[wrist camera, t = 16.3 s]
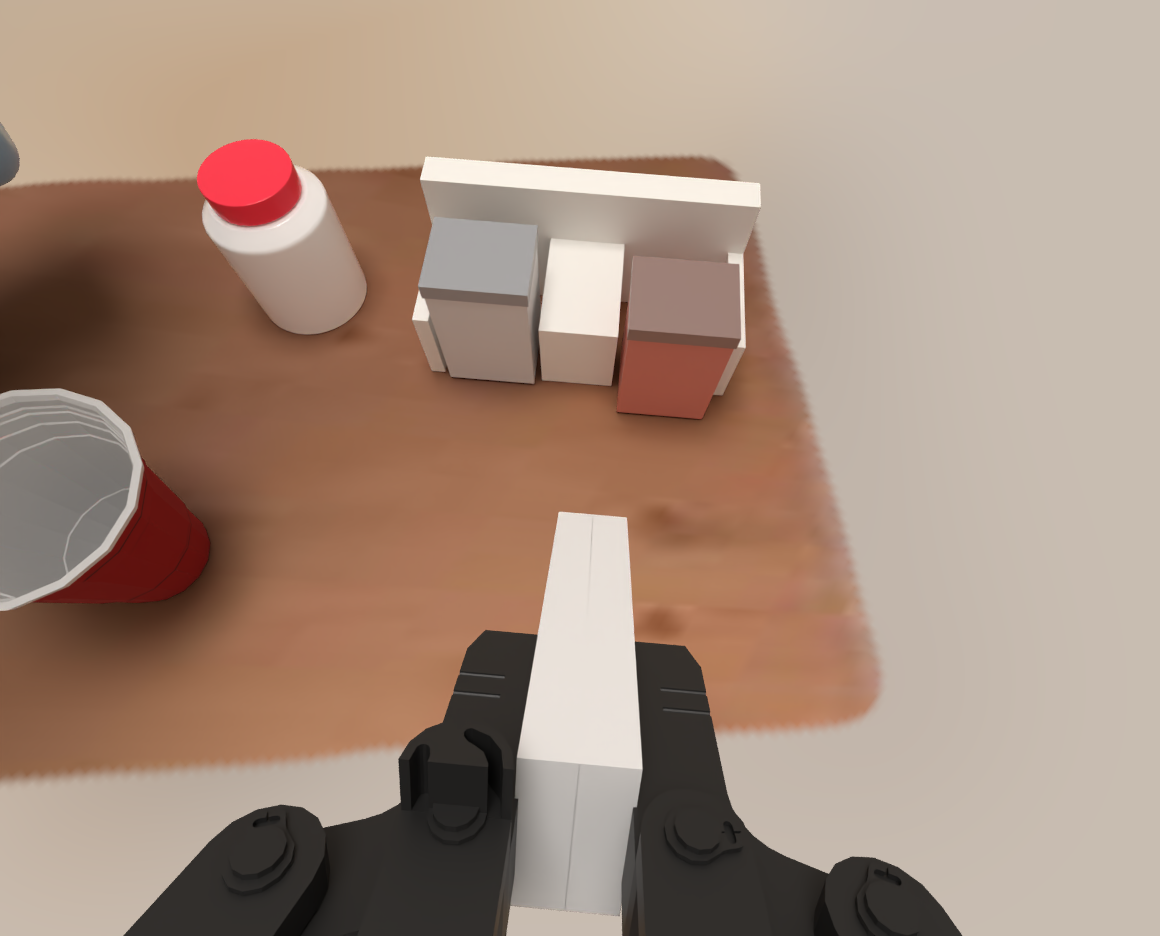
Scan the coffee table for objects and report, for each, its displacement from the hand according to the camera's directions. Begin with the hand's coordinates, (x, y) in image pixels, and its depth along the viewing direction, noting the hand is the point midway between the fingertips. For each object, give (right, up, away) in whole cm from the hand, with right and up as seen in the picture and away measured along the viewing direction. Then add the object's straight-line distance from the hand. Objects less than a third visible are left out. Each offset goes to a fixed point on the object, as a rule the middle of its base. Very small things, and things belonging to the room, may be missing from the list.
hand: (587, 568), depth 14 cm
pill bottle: (-20, +16, +32) cm, 41 cm away
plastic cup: (-26, -3, +24) cm, 36 cm away
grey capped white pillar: (-6, +11, +30) cm, 33 cm away
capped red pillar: (+6, +8, +30) cm, 31 cm away
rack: (0, +13, +31) cm, 34 cm away
